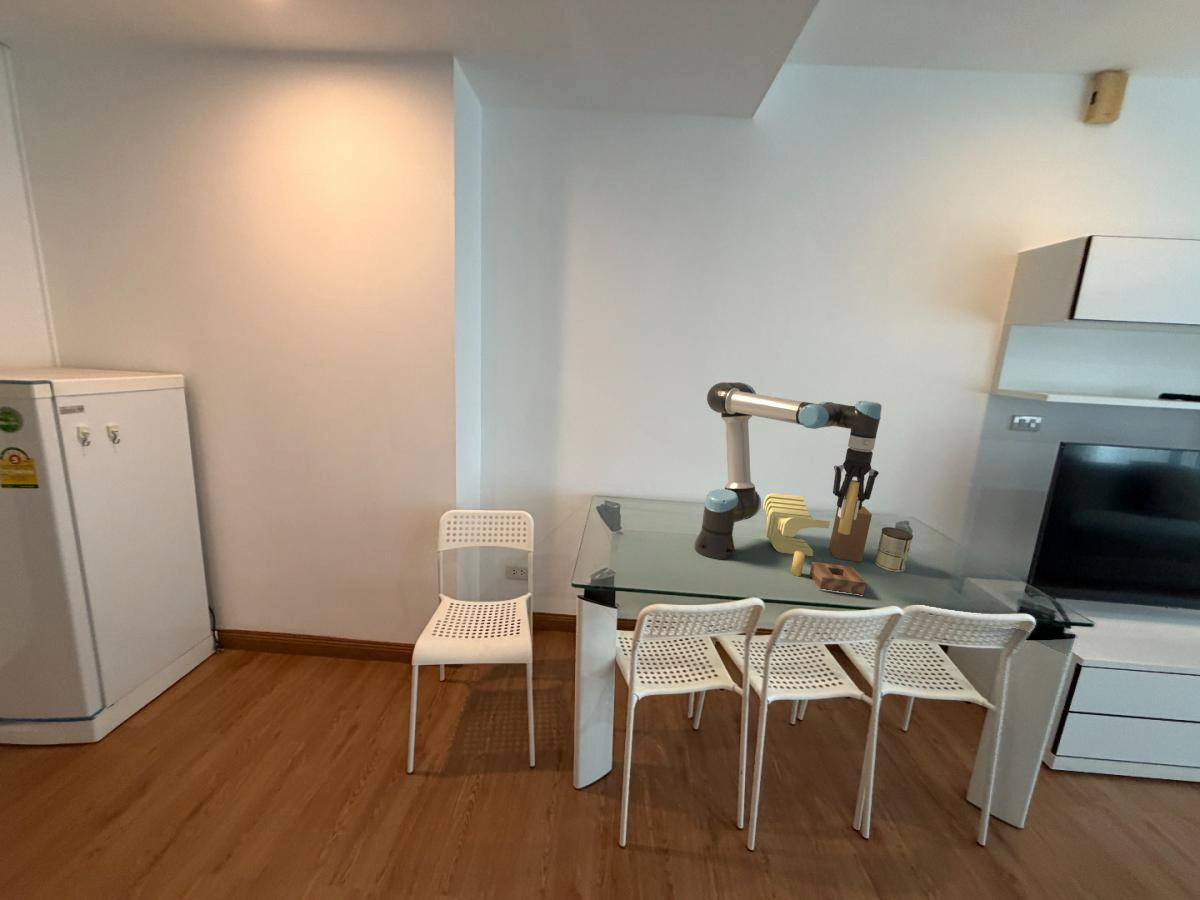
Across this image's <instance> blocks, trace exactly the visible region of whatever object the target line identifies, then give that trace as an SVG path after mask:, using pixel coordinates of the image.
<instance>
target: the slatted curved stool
mask: <svg viewBox="0 0 1200 900" xmlns="http://www.w3.org/2000/svg"><path fill="white" fill-rule="evenodd" d="M762 505H763V507H762V510H764V511H765V513H766V517H767V518H766V528H765V529H766V530H765V536H766V538H767V540H768V541H769V542H770V544H771V545H772V546H773V548H774V549H775V551H777V552H778V553H782V554H790V555H794V552H795V551H801V552H803V553H805V556H807V557H809V556H810V557H814V550H813V548H811V546H810V545H809V544H808V543H807V541H806V540H805V539H801V538H794V537H795V536H796V535H797V533H798V532H799V531H800V530H804V529H812V528H813V529H814V528H817V529H818V528H819V529H829V527H830V523H831V521H830V520H821V519H820V520H819V519H815V518H813V516H811V514H810V511H809V510H808V508H807V506H806V505H807V504H806V502H805V499H804V496H802V495H793V494H784V493H775V492H774V493H773V492H771V493H769V494H767V495H766V496H765V497H764V500H763V504H762Z"/></svg>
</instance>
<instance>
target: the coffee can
mask: <svg viewBox="0 0 1200 900" xmlns="http://www.w3.org/2000/svg"><path fill="white" fill-rule="evenodd" d="M880 534H881V535H880V539H879V542H878V543H879V544H878V548H877V552H876V555H875V559H874V564H875V565H876V566H878V567H879V568H882V569H883V570H886V571H890V572H894V573H895V572H896V573H903V572H905V570H906V565H907V560H908V556H909V551H910V548H911V543H912V540H913V538H914V535H913V534H912V533H911V532H909V531H907V530H904V529H901V528H896V527H890V526H889V527H888V526H887V527H882V528H881V533H880Z"/></svg>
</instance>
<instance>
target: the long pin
mask: <svg viewBox="0 0 1200 900" xmlns="http://www.w3.org/2000/svg"><path fill="white" fill-rule="evenodd" d="M859 485H860V482H858V481H857V479H856V480H855V479H852V480H851V482H850V484H849V487H848V489H847V492H846V494H845V497H844V498H845V499H846V503H845V509H844V514H843V518H840V523H839V529H838V532H839V533H841V534H845V535H849V534H850V530H851V525H852V520H853V515H854V510H855V505H856V500H857V499H858V498H857V495H858V490H859Z"/></svg>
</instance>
